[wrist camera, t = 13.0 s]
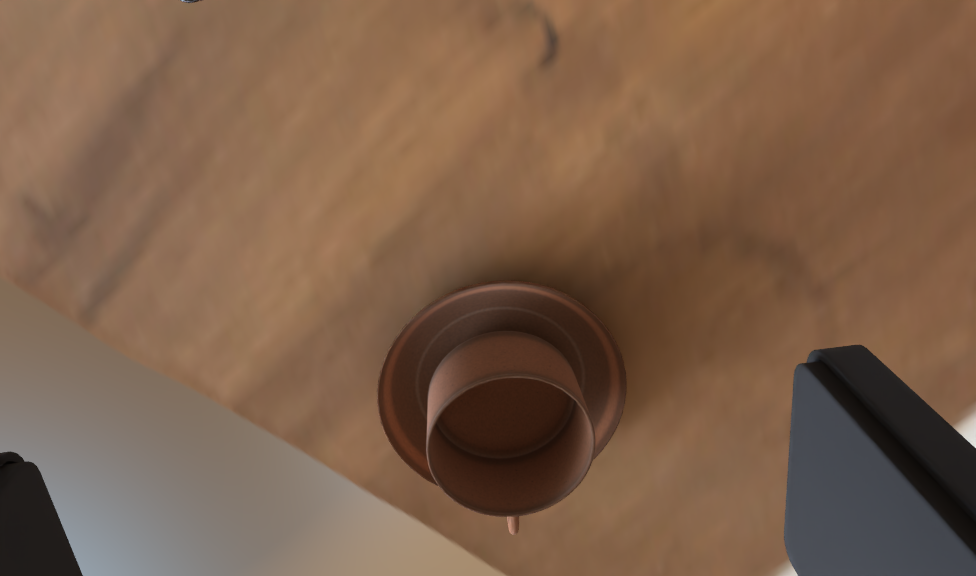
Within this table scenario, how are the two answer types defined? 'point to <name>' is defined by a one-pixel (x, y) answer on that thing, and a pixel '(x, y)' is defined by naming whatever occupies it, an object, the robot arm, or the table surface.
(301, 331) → the table surface
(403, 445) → the cup and saucer
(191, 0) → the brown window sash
